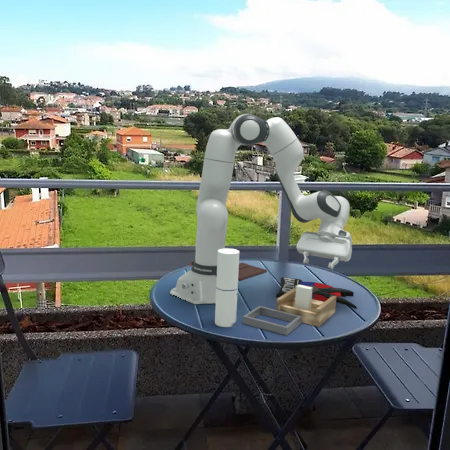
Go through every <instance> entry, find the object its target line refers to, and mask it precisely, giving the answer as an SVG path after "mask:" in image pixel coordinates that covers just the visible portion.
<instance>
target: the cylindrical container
mask: <svg viewBox="0 0 450 450" xmlns="http://www.w3.org/2000/svg"><path fill="white" fill-rule="evenodd" d="M239 263H240V250H238V249H236V248H228V247H225V249H219V250H218V256H217V281H216V303H215V308H214V310H215V311H214V313H215V315H214V324H215V325H216V326H217V327H221V328H230V327H234V326H235V323H236V322H237V312H238V311H237V307H238V290H239V289H238V288H239V281H238V272H239Z"/></svg>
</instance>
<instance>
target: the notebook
mask: <svg viewBox="0 0 450 450" xmlns="http://www.w3.org/2000/svg"><path fill="white" fill-rule="evenodd" d="M267 271H268V270H267V269H265V268H263V267H258V266H255V265H252V264H248V263H245V262H239V272H238V282H241V281H244V280H247V279H250V278H253V277H256V276H260V275H262V274H265V273H267Z"/></svg>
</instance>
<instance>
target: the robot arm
mask: <svg viewBox="0 0 450 450" xmlns="http://www.w3.org/2000/svg"><path fill="white" fill-rule="evenodd" d="M296 135H297V134H295V132H294V131H293V130H292V128H291V127H290V126H289V124H288V123H287V122H286V121H285V120H284V119H283V118H281V117H279V116H277V117H275V116H274V117H270V118H269V119H267V120H264V119H263V118H261V117H259V116H257V115H255V114H251V113H244V114H243V113H242V114H240V115H238V116H237V117H236V118H234V120H233V121H232V122H231V123H230V124H229V125H228V127H227V129H224V128H221V129H220V128H218V129H215V130H213V131H212V132H211V133H210V135H209V137H208V140H207V144H206V148H205V152H204V157H203V164H202V173H201V178H200V184H199V190H198V195H197V200H196V208H195V210H196V211H195V212H196V216H197V217H196V220H197V221H196V224H197V225H196V237H195V259H194V260H193V261H192V262H189V266H188V267H191V269H190V270H188V271H186V272H185V273H184V274H182V275H180V277H179V278H178V279H177V282H176V284H175V287H174V288H172V289H171V290H170V293H169V295H170V294H172V295H171V296H173V295H175V296H177V297H176V298H178V297H179V298H178V299H180V298H181V300H183V301H185V300H186V302H189V303H191V304H193V305H201V304H216V281H217V256H218V250H219V249H225V248H226V238H227V231H228V220H229V211H228V209H227V199H228V195H229V191H230V188H231V184H232V178H233V171H234V166H235V159H236V153H237V150H238V148H239V147H240V146H253V145H257V144H259V143H262V144H263V145H264V146H265V147H266V148H267V149H268V151H269V153H270V155H271V156H272V158H273V160H274V163H275V174H276V177H277V180H278V182H279V184H280V187H281V188H282V191H283V194H284V195H285V198H286V199H287V201H288V203H289V207H290V209H291V213H292V216H293V217H294V219H295V220H296V221H298V222H299V223H303V224H307V223H308V222H311V221H314V220H318V219H319V220H320V225H319V227H318V229H317V232H313V231H307V230H306V231H305V232H302V233H301V235H300V238H299V240H298V242H297V244H296V246H295V248H296V250H297V252H298V253H299V254H303V258H304V259H303V261H302V262H303V264H304V265H309V264H310V259H309V256H314V257H318V258H319V257H320V258H324V259H329V260H332V262H330V261H329V262H328V265H327V268H328V269H330V270H333V269H334V267H335V266H336V265H337V264H338V263H340V261H341V262H349V261H350V260H351V258H352V253H353V247H352V246H353V238H352V235H351V233H350V232H349V231H346V230H344V227H345V226H346V224H347V221H348V219H349V216H350V211H351V209H350V208H351V206H350V203H349V201H348V200H347V198H345V197H343V196H341V195H339V196H338V195H334V194H333V193H331V192H330V190H329V191H328V190H327V189H326V190H325V189H322V190H319V191H316V192H313V193H311V194H308V195H304V194H303V193H302V191H301V189H300V187H299V185H298V182H297V181H296V178H295V171H296V169H297V168H298V167H299V165H301V164H302V161H303V159H304V153H305V152H304V148H303V145H302V143H301V142H300V140H299V139H298V137H297V136H296ZM175 296H174V297H175Z"/></svg>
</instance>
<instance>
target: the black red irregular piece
mask: <svg viewBox="0 0 450 450" xmlns="http://www.w3.org/2000/svg"><path fill="white" fill-rule="evenodd" d="M280 283H281V284H280V285H281V287H280V289H279V290H278V292H277V293H276V295H275V298H277V299H278V298H279V297H281V296H283V295H284V294H286V293H287V292H289V291H290V290H292V289H293V288H295V287H296V286H297V285H304V286H308V287H313V288H312V299H314V300H318V301H322V302H325V301H326V300H328V299H329V298H330V297H331V296H337V297H336V303H339V304H342V305H345V306H348V307H351V308H352V309H355V310H358V309H357V308H358V307H357V305H355V304H354V303H352V302H351V301H349V300H347V299H345V298H346V296H353V297H354V293H355V292H354V291H352V290H349V289H345V288H340V287H333V286H332V285H330V284H329V285H328V284H325V283H321V282H313V281H303V280H302V279H300V278H299V279H298V278H292V277H284V276H282V277H280Z"/></svg>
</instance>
